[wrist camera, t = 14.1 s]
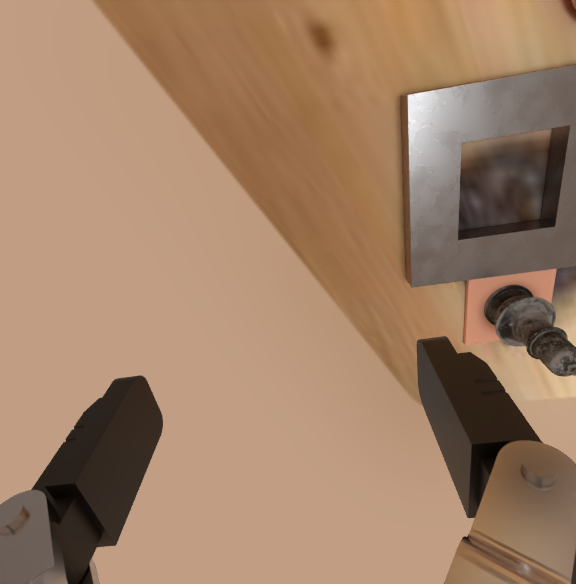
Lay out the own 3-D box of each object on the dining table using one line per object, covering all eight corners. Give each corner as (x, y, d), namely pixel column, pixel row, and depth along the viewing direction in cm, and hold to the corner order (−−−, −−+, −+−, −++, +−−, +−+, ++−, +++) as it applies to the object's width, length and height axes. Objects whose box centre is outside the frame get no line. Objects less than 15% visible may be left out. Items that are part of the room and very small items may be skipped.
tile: (466, 273, 41) (468, 275, 41) (553, 262, 41) (557, 264, 40) (463, 342, 45) (465, 344, 45) (542, 332, 44) (545, 335, 44)
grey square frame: (400, 95, 34) (407, 95, 32) (616, 56, 32) (640, 53, 30) (405, 277, 42) (411, 287, 40) (579, 254, 40) (596, 263, 38)
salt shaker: (548, 299, 42) (633, 367, 31) (507, 337, 44) (574, 412, 33) (509, 272, 41) (585, 333, 30) (469, 312, 43) (526, 382, 32)
